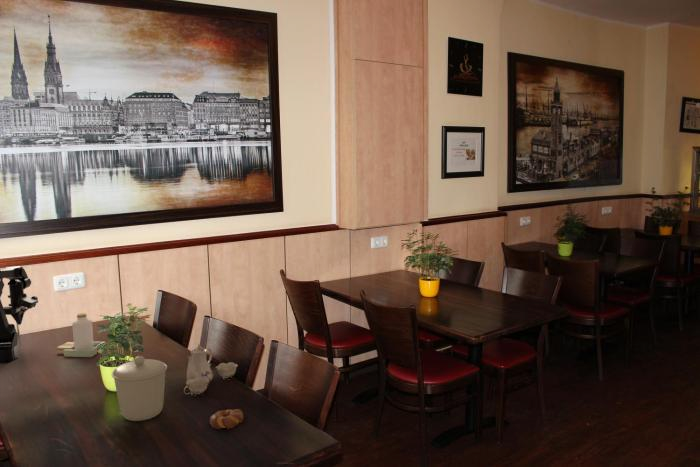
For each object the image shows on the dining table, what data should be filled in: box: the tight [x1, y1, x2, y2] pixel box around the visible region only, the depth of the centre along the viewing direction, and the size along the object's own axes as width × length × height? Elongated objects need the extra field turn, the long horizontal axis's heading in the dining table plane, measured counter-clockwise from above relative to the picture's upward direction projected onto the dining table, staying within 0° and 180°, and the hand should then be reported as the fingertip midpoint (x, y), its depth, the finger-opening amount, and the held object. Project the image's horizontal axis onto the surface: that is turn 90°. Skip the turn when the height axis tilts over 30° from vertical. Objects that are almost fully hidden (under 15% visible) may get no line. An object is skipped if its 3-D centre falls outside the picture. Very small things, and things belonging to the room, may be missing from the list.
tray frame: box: [63, 341, 106, 358], centre depth 266 cm, size 13×13×3 cm
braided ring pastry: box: [209, 408, 244, 430], centre depth 191 cm, size 12×11×4 cm
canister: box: [111, 355, 168, 422], centre depth 197 cm, size 18×18×21 cm
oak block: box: [56, 341, 74, 355], centre depth 267 cm, size 8×7×4 cm
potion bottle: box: [71, 313, 95, 350], centre depth 265 cm, size 8×8×18 cm
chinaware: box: [183, 343, 239, 396], centre depth 224 cm, size 28×17×17 cm, turn 159°
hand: (19, 324), depth 271 cm, fingers closed
